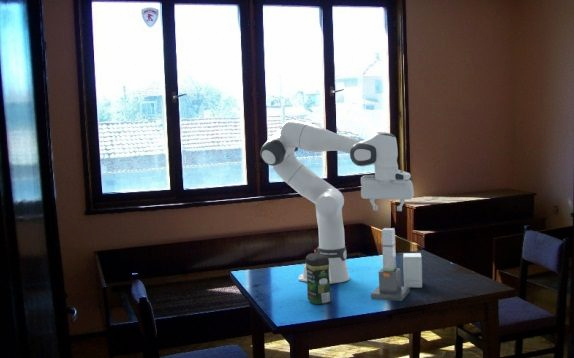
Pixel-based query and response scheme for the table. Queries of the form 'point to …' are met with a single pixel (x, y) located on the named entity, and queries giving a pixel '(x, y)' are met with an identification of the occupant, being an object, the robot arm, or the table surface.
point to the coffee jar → (318, 278)
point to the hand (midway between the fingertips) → (387, 210)
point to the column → (389, 249)
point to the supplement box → (412, 269)
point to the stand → (390, 286)
